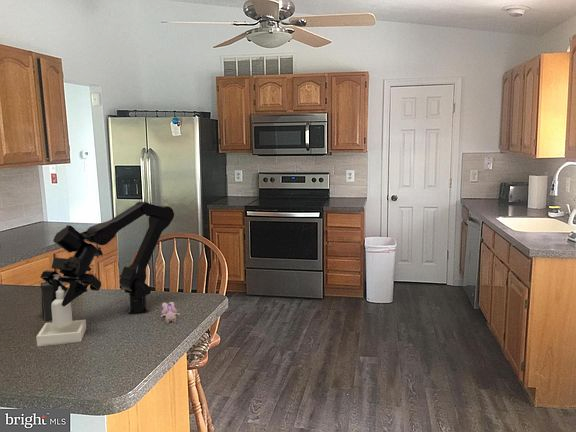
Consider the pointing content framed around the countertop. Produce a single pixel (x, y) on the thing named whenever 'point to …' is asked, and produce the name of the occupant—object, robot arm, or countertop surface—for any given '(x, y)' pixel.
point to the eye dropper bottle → (61, 310)
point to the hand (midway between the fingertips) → (57, 305)
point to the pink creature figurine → (169, 312)
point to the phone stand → (46, 300)
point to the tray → (61, 334)
